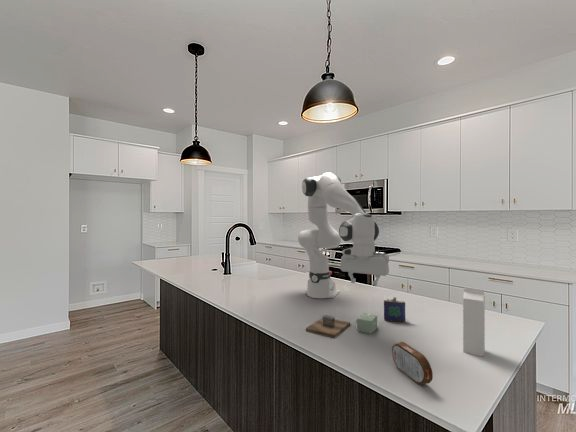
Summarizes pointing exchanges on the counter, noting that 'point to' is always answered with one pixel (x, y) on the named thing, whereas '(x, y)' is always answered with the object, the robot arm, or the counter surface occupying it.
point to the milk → (474, 321)
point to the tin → (412, 363)
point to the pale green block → (367, 323)
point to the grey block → (328, 321)
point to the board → (328, 328)
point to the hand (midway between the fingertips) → (363, 284)
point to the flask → (394, 310)
